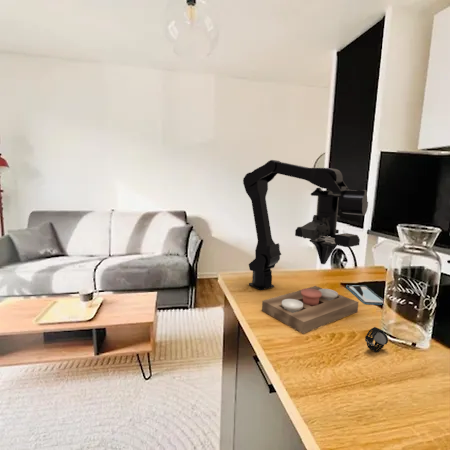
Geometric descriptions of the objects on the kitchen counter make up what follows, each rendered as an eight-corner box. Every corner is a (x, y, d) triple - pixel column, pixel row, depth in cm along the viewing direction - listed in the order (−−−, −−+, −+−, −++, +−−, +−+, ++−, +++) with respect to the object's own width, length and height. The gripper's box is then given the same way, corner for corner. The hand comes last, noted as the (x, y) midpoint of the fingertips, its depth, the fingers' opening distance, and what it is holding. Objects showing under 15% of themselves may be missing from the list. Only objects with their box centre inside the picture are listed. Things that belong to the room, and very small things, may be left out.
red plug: (296, 304, 85) (296, 290, 85) (309, 299, 88) (309, 287, 88) (311, 311, 81) (312, 297, 80) (324, 306, 84) (325, 293, 83)
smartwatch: (389, 354, 65) (392, 332, 64) (368, 355, 64) (370, 333, 63) (377, 343, 69) (379, 323, 68) (356, 345, 68) (358, 324, 67)
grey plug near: (276, 315, 81) (277, 301, 81) (291, 310, 84) (291, 297, 84) (292, 323, 77) (292, 309, 76) (306, 318, 80) (307, 304, 79)
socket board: (261, 310, 84) (262, 300, 84) (315, 294, 97) (315, 285, 97) (303, 333, 72) (303, 322, 72) (357, 311, 85) (358, 301, 85)
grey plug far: (312, 303, 90) (313, 290, 89) (324, 299, 93) (325, 287, 92) (328, 310, 85) (329, 297, 85) (340, 306, 88) (341, 293, 88)
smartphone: (364, 303, 90) (345, 285, 105) (364, 306, 91) (344, 287, 105) (388, 304, 90) (365, 285, 105) (388, 307, 91) (365, 288, 105)
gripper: (284, 210, 90) (281, 260, 92) (338, 217, 75) (333, 277, 77) (308, 208, 96) (305, 255, 98) (363, 215, 81) (357, 270, 83)
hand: (323, 263), depth 89 cm, fingers closed
